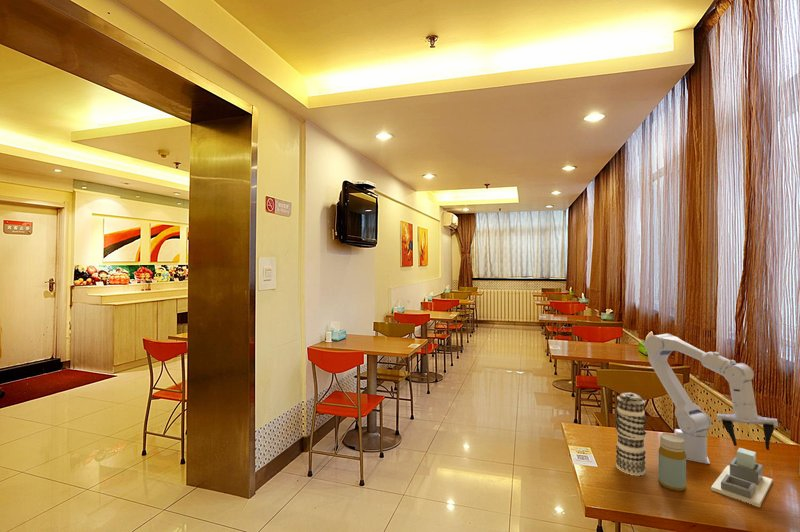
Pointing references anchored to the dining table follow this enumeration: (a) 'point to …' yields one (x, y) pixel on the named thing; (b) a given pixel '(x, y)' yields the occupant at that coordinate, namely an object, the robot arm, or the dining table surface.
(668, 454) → the bottle
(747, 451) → the plug
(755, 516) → the dining table surface
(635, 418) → the decorative candle
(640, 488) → the dining table surface
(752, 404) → the robot arm
